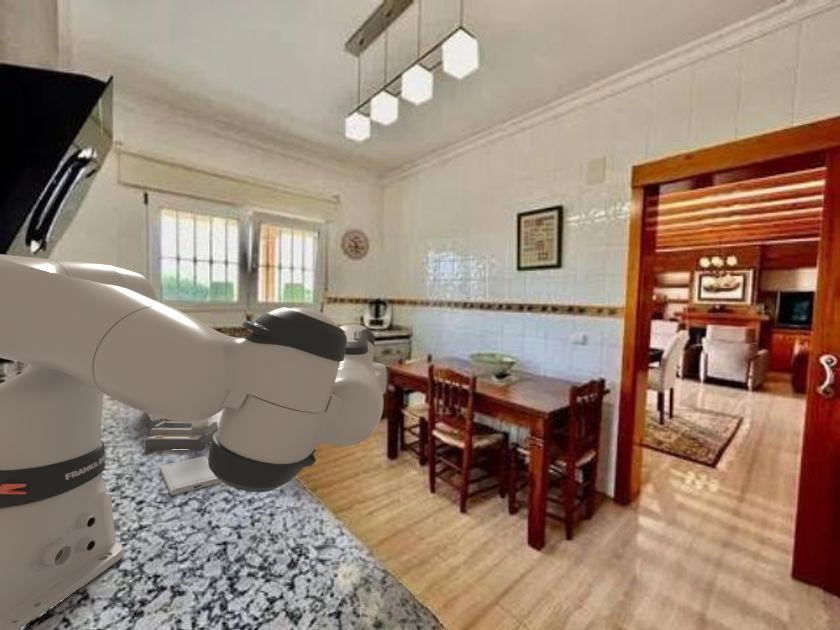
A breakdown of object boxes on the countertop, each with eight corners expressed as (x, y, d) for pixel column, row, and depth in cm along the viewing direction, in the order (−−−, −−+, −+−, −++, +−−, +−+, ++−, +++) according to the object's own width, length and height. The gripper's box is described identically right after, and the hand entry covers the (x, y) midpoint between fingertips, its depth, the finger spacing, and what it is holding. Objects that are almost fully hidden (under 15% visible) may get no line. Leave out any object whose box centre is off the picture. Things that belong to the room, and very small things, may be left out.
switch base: (200, 450, 87) (201, 431, 87) (145, 450, 86) (145, 430, 86) (220, 435, 97) (220, 417, 96) (170, 434, 96) (170, 417, 96)
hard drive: (159, 465, 76) (171, 489, 67) (206, 455, 82) (222, 476, 72) (159, 473, 76) (171, 498, 67) (206, 463, 82) (222, 485, 72)
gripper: (311, 401, 83) (246, 400, 82) (327, 381, 104) (275, 380, 103) (312, 372, 83) (246, 370, 82) (328, 358, 103) (275, 356, 102)
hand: (262, 375), depth 93 cm, fingers closed
